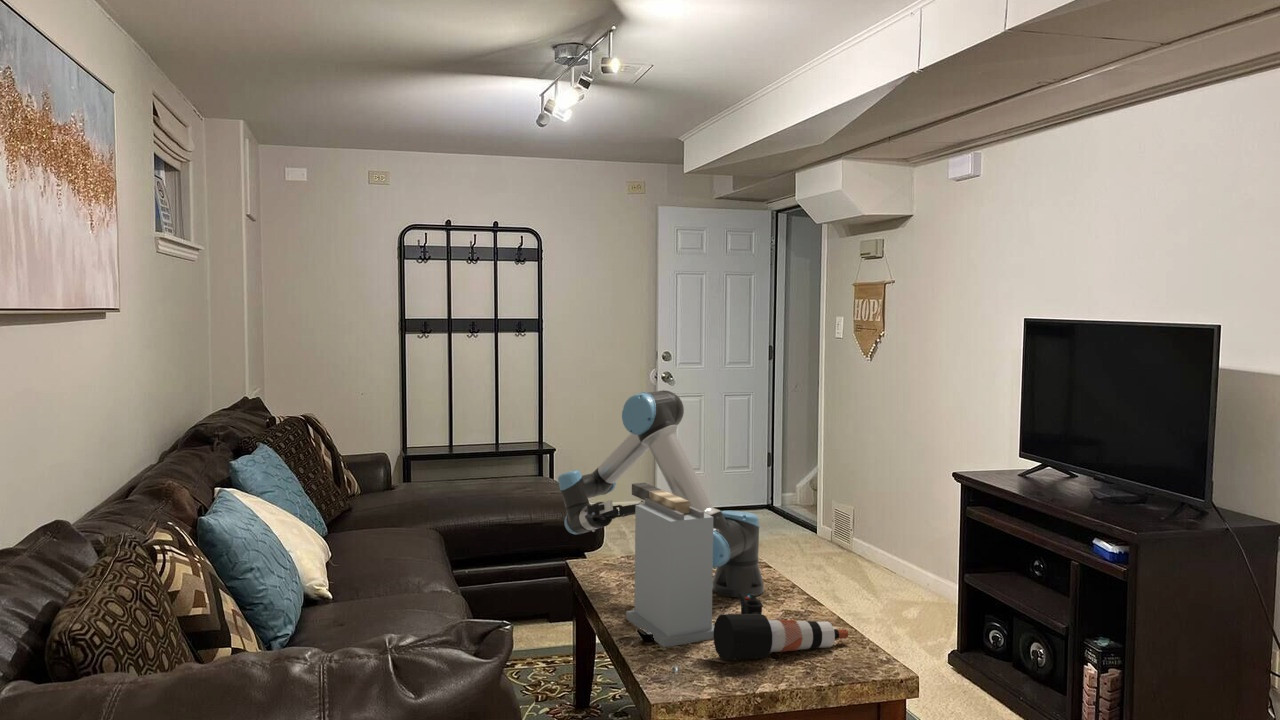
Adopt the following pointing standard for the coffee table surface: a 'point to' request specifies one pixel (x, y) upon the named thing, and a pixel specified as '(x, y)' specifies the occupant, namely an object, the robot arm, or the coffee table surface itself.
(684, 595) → the post
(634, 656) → the coffee table surface
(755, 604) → the controller
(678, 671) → the coffee table surface
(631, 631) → the coffee table surface
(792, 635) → the black white tapered cylinder
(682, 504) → the bar
